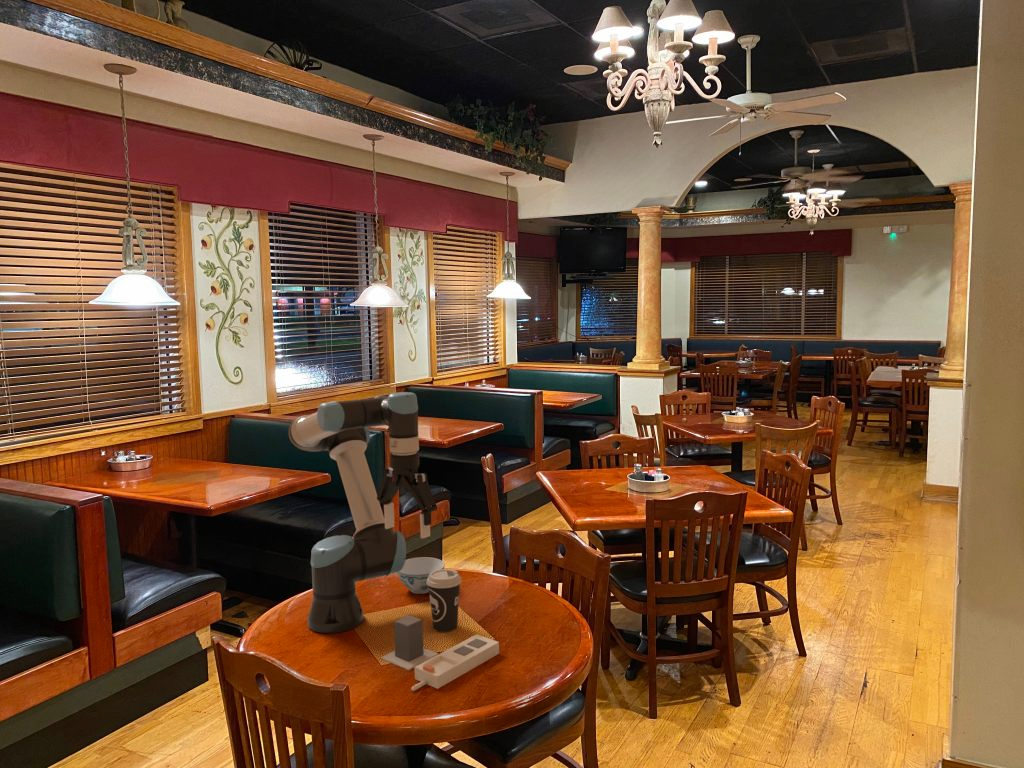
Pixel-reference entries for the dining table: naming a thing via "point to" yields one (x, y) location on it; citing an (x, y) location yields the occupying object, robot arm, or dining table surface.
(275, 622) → the dining table surface
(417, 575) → the chinaware
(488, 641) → the power strip
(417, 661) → the pad
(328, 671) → the dining table surface
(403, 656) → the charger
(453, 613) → the coffee cup
